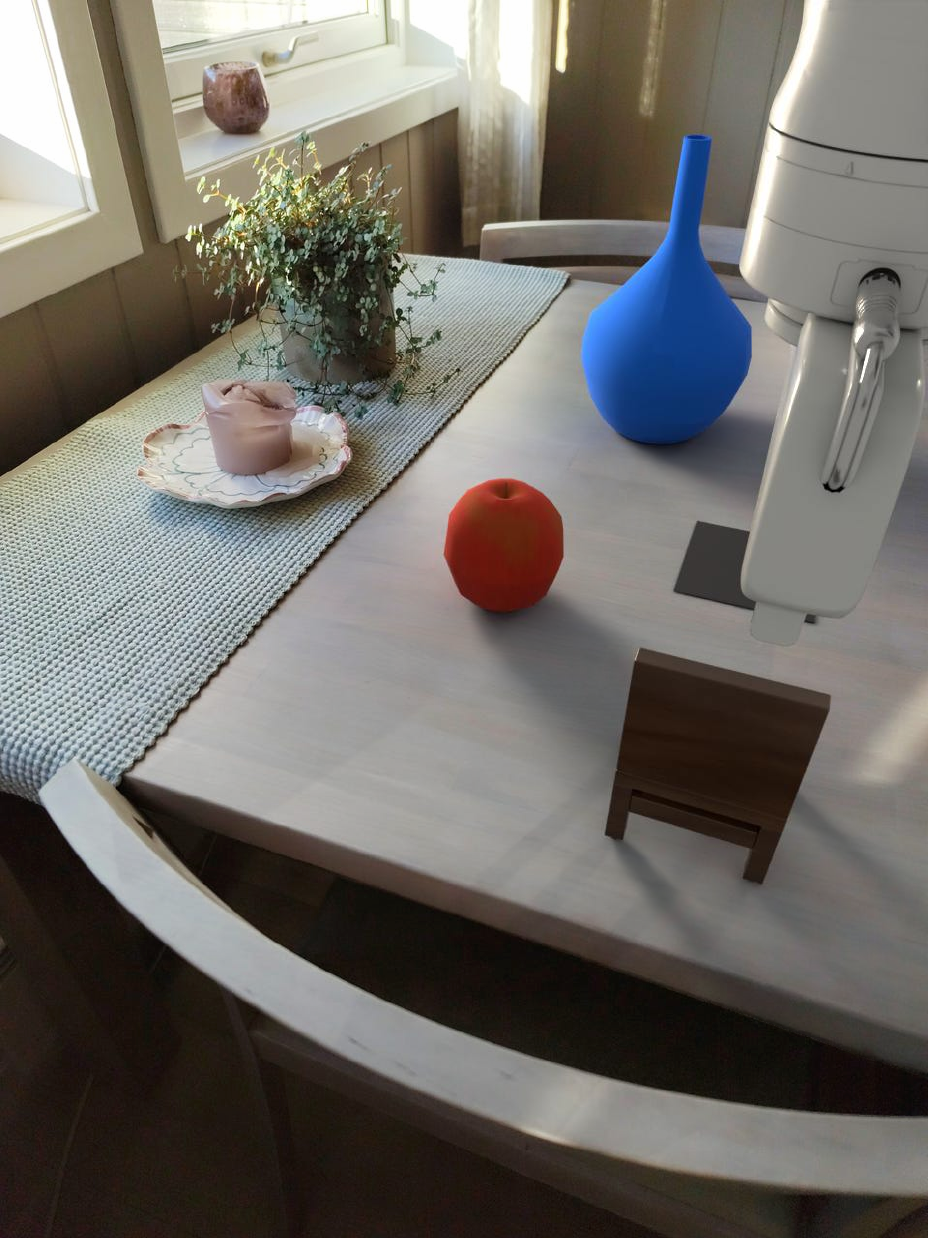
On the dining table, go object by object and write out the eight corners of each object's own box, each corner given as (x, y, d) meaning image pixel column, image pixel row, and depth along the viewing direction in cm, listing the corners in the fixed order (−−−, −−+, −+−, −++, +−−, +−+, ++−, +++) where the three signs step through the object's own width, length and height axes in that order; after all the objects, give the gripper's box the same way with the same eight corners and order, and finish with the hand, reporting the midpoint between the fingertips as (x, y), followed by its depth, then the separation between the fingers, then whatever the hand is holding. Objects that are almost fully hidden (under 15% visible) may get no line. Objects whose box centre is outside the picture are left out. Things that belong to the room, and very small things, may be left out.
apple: (579, 616, 74) (592, 501, 67) (469, 644, 71) (470, 527, 64) (531, 552, 81) (537, 442, 74) (429, 574, 79) (426, 462, 71)
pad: (814, 623, 73) (814, 622, 73) (673, 591, 77) (673, 590, 77) (824, 547, 82) (824, 546, 82) (696, 521, 85) (697, 520, 85)
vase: (675, 380, 110) (719, 112, 91) (768, 444, 97) (842, 148, 78) (547, 406, 105) (566, 126, 85) (627, 478, 92) (670, 168, 73)
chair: (760, 890, 54) (830, 710, 43) (603, 840, 57) (634, 660, 46) (778, 773, 61) (841, 595, 51) (637, 734, 64) (671, 558, 53)
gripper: (1024, 367, 20) (851, 757, 29) (970, 169, 35) (866, 469, 44) (750, 328, 22) (665, 708, 31) (808, 155, 37) (739, 446, 46)
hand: (783, 566), depth 38 cm, fingers open, 8 cm apart
